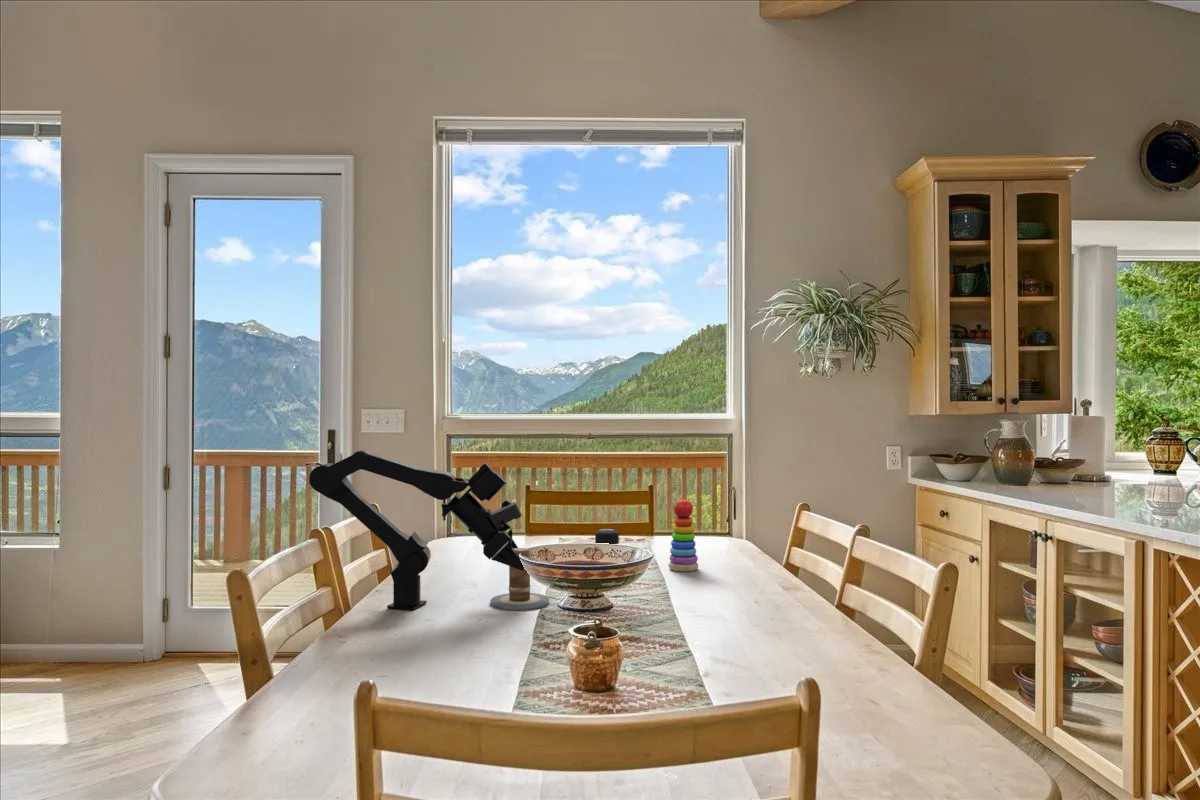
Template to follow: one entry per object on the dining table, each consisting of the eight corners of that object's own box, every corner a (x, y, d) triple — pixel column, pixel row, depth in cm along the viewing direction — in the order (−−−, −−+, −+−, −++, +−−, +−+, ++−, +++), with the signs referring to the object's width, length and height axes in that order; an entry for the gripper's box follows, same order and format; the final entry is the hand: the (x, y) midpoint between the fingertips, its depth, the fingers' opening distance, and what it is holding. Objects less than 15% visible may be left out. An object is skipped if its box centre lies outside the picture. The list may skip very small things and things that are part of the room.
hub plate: (537, 612, 173) (537, 608, 173) (481, 608, 176) (481, 604, 176) (556, 598, 185) (556, 594, 185) (503, 594, 189) (503, 590, 189)
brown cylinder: (515, 602, 177) (515, 552, 177) (504, 598, 181) (504, 549, 181) (534, 599, 180) (534, 550, 180) (523, 595, 184) (523, 547, 184)
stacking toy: (663, 567, 219) (663, 498, 219) (688, 565, 222) (688, 496, 222) (677, 573, 212) (678, 501, 211) (704, 570, 215) (704, 500, 215)
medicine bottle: (620, 580, 204) (620, 532, 204) (592, 579, 204) (592, 532, 204) (620, 573, 211) (620, 528, 211) (593, 573, 211) (593, 527, 211)
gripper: (499, 495, 171) (551, 546, 172) (501, 485, 190) (548, 532, 191) (461, 532, 170) (514, 584, 171) (467, 519, 189) (514, 566, 190)
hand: (524, 564), depth 181 cm, fingers open, 9 cm apart
